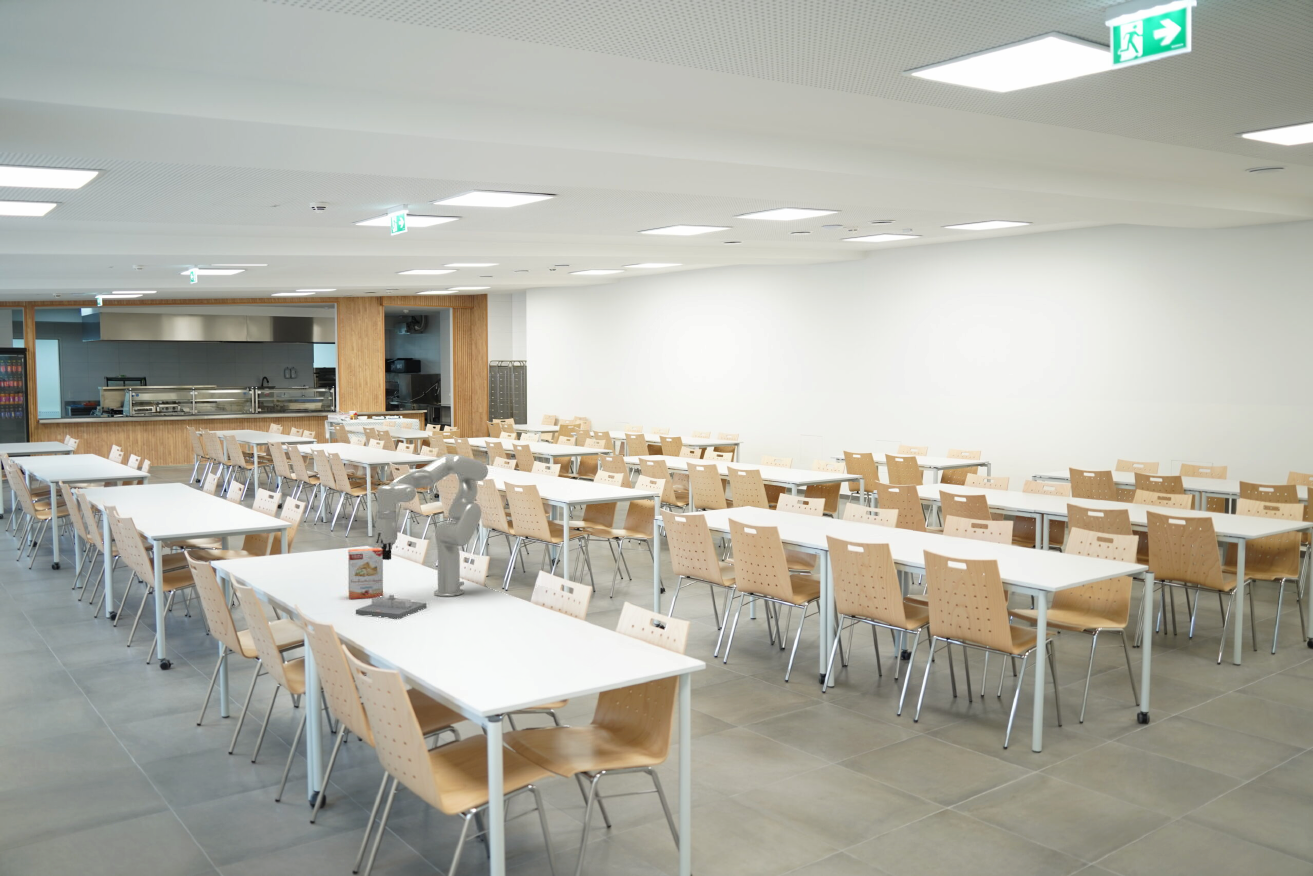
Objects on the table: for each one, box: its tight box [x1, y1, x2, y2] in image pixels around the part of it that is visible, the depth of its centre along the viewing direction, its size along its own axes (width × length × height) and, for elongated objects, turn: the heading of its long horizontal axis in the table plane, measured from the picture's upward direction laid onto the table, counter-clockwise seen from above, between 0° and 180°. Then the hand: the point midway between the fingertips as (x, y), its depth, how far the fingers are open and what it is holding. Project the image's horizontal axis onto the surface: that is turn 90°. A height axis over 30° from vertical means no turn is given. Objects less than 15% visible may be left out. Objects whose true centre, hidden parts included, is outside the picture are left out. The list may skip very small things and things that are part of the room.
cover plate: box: [355, 594, 428, 620], centre depth 399 cm, size 20×20×6 cm
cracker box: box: [347, 547, 384, 600], centre depth 424 cm, size 14×6×21 cm, turn 112°
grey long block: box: [371, 596, 412, 609], centre depth 399 cm, size 5×16×3 cm, turn 71°
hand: (386, 559), depth 406 cm, fingers closed
